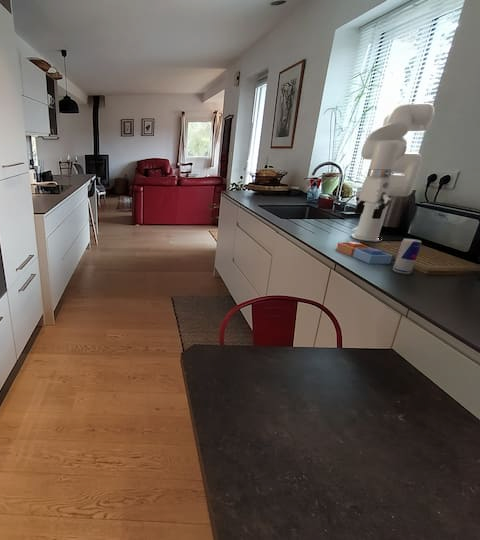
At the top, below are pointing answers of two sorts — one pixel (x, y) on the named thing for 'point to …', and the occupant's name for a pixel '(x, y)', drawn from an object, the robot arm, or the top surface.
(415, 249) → the energy drink
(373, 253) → the blue block
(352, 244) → the terracotta block
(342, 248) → the terracotta bin
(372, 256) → the blue bin
